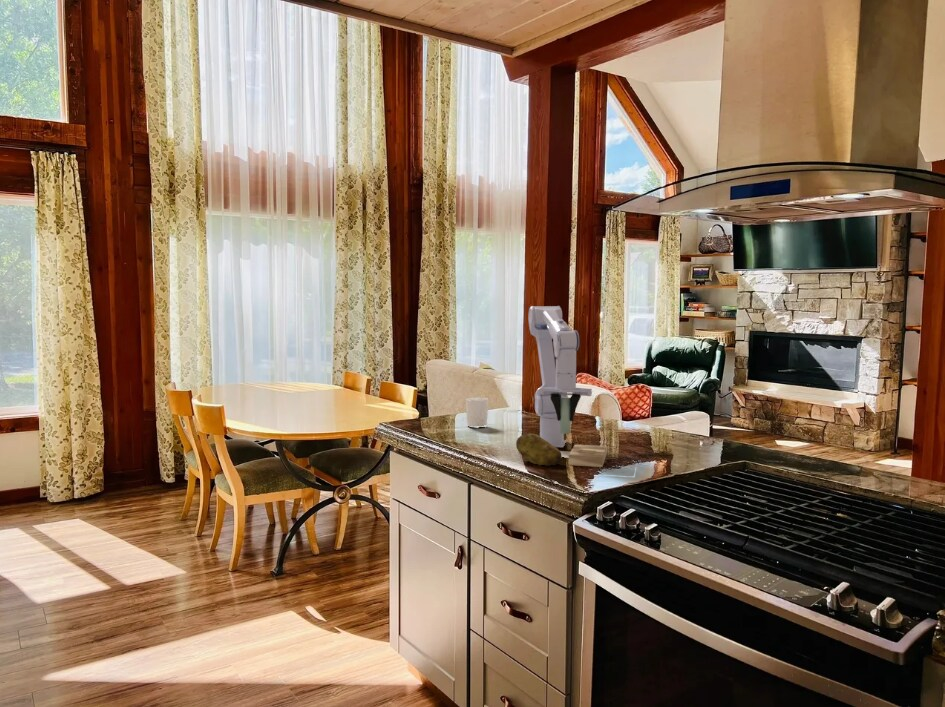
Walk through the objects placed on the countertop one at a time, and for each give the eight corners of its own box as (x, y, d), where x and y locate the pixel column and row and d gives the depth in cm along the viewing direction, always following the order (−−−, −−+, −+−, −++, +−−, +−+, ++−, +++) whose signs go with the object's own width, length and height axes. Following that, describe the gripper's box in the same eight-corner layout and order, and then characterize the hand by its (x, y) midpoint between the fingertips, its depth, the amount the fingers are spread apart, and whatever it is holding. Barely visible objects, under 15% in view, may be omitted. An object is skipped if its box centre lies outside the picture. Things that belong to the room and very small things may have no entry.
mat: (556, 451, 209) (556, 450, 209) (574, 452, 208) (574, 451, 208) (552, 457, 202) (552, 456, 202) (571, 458, 200) (571, 457, 200)
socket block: (574, 454, 206) (574, 444, 205) (606, 456, 203) (606, 446, 203) (568, 465, 192) (568, 454, 192) (602, 467, 190) (602, 456, 190)
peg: (560, 431, 205) (561, 397, 205) (571, 432, 205) (571, 397, 204) (559, 433, 203) (559, 398, 202) (570, 434, 202) (570, 399, 201)
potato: (542, 470, 187) (542, 440, 186) (511, 461, 197) (511, 433, 197) (565, 466, 192) (565, 436, 191) (533, 457, 202) (534, 429, 202)
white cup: (463, 428, 248) (462, 399, 247) (469, 424, 255) (469, 396, 254) (484, 429, 245) (484, 400, 244) (490, 425, 253) (490, 397, 252)
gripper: (538, 373, 200) (538, 421, 201) (590, 375, 197) (589, 423, 198) (542, 371, 207) (542, 417, 208) (592, 372, 203) (592, 419, 204)
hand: (565, 420), depth 203 cm, fingers closed on peg, 3 cm apart
